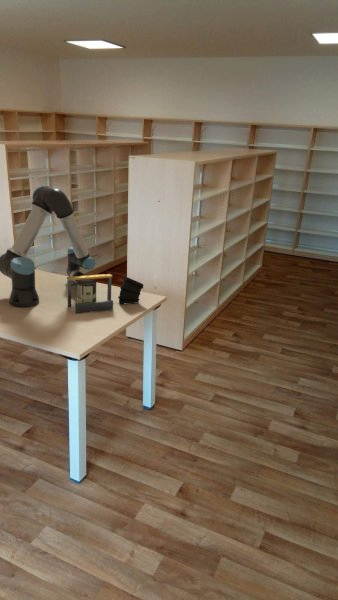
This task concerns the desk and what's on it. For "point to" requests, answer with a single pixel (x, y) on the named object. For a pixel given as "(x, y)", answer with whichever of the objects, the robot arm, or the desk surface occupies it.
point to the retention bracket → (91, 305)
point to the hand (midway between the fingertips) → (89, 290)
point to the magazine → (130, 291)
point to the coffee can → (86, 290)
